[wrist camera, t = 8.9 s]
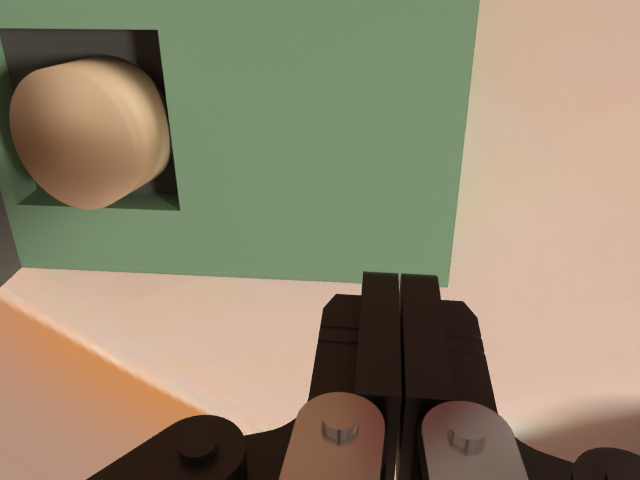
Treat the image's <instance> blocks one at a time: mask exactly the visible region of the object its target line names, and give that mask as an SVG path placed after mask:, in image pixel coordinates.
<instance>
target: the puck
mask: <svg viewBox="0 0 640 480" xmlns="http://www.w3.org/2000/svg"><path fill="white" fill-rule="evenodd" d="M9 122H10V130H11V135H12V139H13V142H14V145H15V148H16V151H17V153H18V155H19V157H20V159H21V161H22V163H23V165H24V166H25V168H26V169H27V171H28V172H29V174H30V175H31V176H32V178H33V179H34V180H35V181H36V182H37V183H38V184H39V185H40V186H41V187H42V188H43V189H44V190H45V191H46V192H47V193H49V194H50V195H51V196H53V197H54V198H56V199H57V200H59V201H61V202H63V203H65V204H67V205H69V206H72V207H75V208H80V209H89V210H93V209H100V208H103V207H106V206H108V205H110V204H112V203H114V202H116V201H117V200H119V199H121V198H122V197H124V196H126V195H127V194H129V193H131V192H133V191H134V190H136V189H138V188H139V187H141V186H143V185H144V184H146V183H148V182H149V181H151V180H153V179H154V178H156V177H157V176H159V175H160V174H161V173H162V172H163V171H164V169H165V168H166V166H167V165H168V163H169V161H170V159H171V156H172V153H173V148H172V140H171V132H170V124H169V116H168V108H167V101H166V99H165V97H164V96H163V94H162V92H161V90H160V89H159V88H158V86H157V85H156V83H155V82H154V81H153V80H152V79H151V78H150V77H149V76H148V75H147V74H146V73H145V72H144V71H143V70H142V69H140V68H139V67H137V66H136V65H135V64H133V63H131V62H129V61H127V60H125V59H122V58H120V57H116V56H111V55H97V56H93V57H88V58H84V59H80V60H76V61H72V62H68V63H64V64H59V65H55V66H51V67H47V68H43V69H39V70H36V71H34V72H32V73H30V74H29V75H27V76H26V77H25V78H24V79H23V80H22V81H21V82H20V83H19V85H18V86H17V88H16V89H15V92H14V94H13V96H12V100H11V104H10V111H9Z"/></svg>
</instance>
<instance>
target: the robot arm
mask: <svg viewBox="0 0 640 480" xmlns="http://www.w3.org/2000/svg"><path fill="white" fill-rule="evenodd" d="M395 465H396V480H640V456H639V455H636V454H634V453H631V452H628V451H625V450H621V449H616V448H604V447H603V448H595V449H591V450H588V451H586V452H584V453H583V454H581V455H580V456H579V457H578V458H577V460H576V461H575V463H572V462H569V461H566V460H563V459H560V458H557V457H554V456H551V455H548V454H545V453H542V452H540V451H537V450H535V449H533V448H531V447H529V446H527V445H526V444H524V443H522V442H521V441H519V440H518V439H517V438H516V437H514V434H513V432H512V430H511V428H510V426H509V425H508V423H507V422H506V421H505V420H504V419H503V418H502V417H501V416H500V415H498V412H497V408H496V403H495V399H494V394H493V389H492V385H491V380H490V375H489V371H488V366H487V361H486V357H485V355H484V347H483V343H482V339H481V333H480V329H479V324H478V319H477V317H476V316H475V315H474V313H473V312H472V311H471V310H470V309H469V308H468V306H467V305H466V304H465V303H464V302H463V301H450V300H441V297H440V289H439V282H438V276H437V275H424V274H406V273H401V278H400V289H399V275H398V273H386V272H368V271H363V280H362V294H361V295H345V294H336V295H335V296H334V297H333V298H332V299H331V300H330V301H329V302H328V304H327V305H326V306H325V307H324V308H323V313H322V319H321V325H320V331H319V338H318V344H317V350H316V356H315V362H314V368H313V374H312V380H311V386H310V393H309V398H308V402H307V403H306V404H305V405H304V406H303V407H302V408H301V409H300V411H299V412H298V415H297V417H296V418H295V419H294V420H292V421H291V422H290V423H288V424H286V425H284V426H282V427H280V428H277V429H274V430H270V431H266V432H261V433H256V434H250V435H245V436H243V434H242V432H241V430H240V429H239V428H238V427H237V426H236V425H235V424H234V423H232V422H231V421H229V420H227V419H225V418H222V417H219V416H213V415H199V416H192V417H189V418H185V419H183V420H180V421H178V422H176V423H174V424H173V425H171V426H169V427H168V428H166V429H164V430H163V431H161V432H160V433H158V434H157V435H155V436H153V437H152V438H150V439H149V440H147V441H146V442H144V443H143V444H141V445H139V446H138V447H136V448H135V449H133V450H132V451H130V452H129V453H127V454H125V455H124V456H122V457H121V458H119V459H118V460H116V461H115V462H113V463H111V464H110V465H108V466H107V467H105V468H104V469H102V470H101V471H99V472H97V473H96V474H94V475H93V476H91V477H90V478H88V479H86V480H394V475H395Z"/></svg>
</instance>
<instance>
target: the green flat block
mask: <svg viewBox="0 0 640 480" xmlns="http://www.w3.org/2000/svg"><path fill="white" fill-rule="evenodd" d="M479 2H480V0H0V287H1V286H2V285H3V284H4V283H5V282H7V281H8V280H9V279H10V278H11V277H12V276H13V275H14V274H15V273H16V272H17V271H18V270H19V269H20V268H21V267H25V268H46V269H68V270H89V271H110V272H131V273H153V274H174V275H195V276H216V277H238V278H259V279H280V280H301V281H322V282H344V283H362V280H363V271H368V272H386V273H398V275H399V285H400V278H401V273H406V274H424V275H437V276H438V282H439V287H448V281H449V272H450V263H451V254H452V245H453V236H454V227H455V218H456V209H457V200H458V191H459V182H460V173H461V164H462V155H463V146H464V137H465V128H466V119H467V110H468V101H469V92H470V83H471V74H472V65H473V56H474V47H475V38H476V29H477V20H478V11H479ZM97 55H111V56H116V57H120V58H122V59H125V60H127V61H129V62H131V63H133V64H135V65H136V66H137V67H139V68H140V69H142V70H143V71H144V72H145V73H146V74H147V75H148V76H149V77H150V78H151V79H152V80H153V81H154V82H155V83H156V85H157V86H158V88H159V89H160V90H161V92H162V94H163V96H164V97H165V99H166V101H167V108H168V116H169V124H170V132H171V140H172V148H173V153H172V156H171V159H170V161H169V163H168V165H167V166H166V168H165V169H164V171H163V172H162V173H161V174H160V175H159V176H157V177H156V178H154V179H153V180H151V181H149V182H148V183H146V184H144V185H143V186H141V187H139V188H138V189H136V190H134V191H133V192H131V193H129V194H127V195H126V196H124V197H122V198H121V199H119V200H117V201H116V202H114V203H112V204H110V205H108V206H106V207H103V208H100V209H93V210H89V209H80V208H75V207H72V206H69V205H67V204H65V203H63V202H61V201H59V200H57V199H56V198H54V197H53V196H51V195H50V194H49V193H47V192H46V191H45V190H44V189H43V188H42V187H41V186H40V185H39V184H38V183H37V182H36V181H35V180H34V179H33V178H32V176H31V175H30V174H29V172H28V171H27V169H26V168H25V166H24V165H23V163H22V161H21V159H20V157H19V155H18V153H17V151H16V148H15V145H14V142H13V139H12V135H11V130H10V122H9V111H10V104H11V100H12V96H13V94H14V92H15V89H16V88H17V86H18V85H19V83H20V82H21V81H22V80H23V79H24V78H25V77H26V76H27V75H29V74H30V73H32V72H34V71H36V70H39V69H43V68H47V67H51V66H55V65H59V64H64V63H68V62H72V61H76V60H80V59H84V58H88V57H93V56H97Z"/></svg>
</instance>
